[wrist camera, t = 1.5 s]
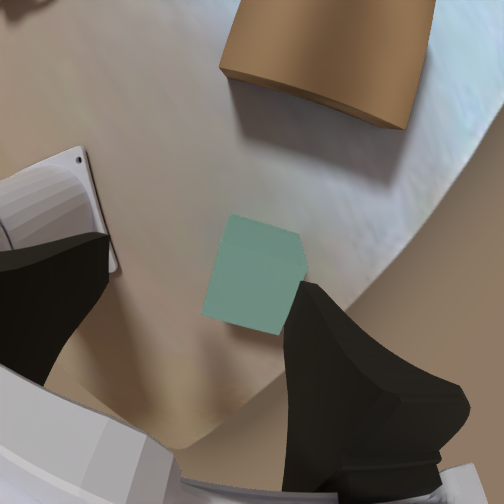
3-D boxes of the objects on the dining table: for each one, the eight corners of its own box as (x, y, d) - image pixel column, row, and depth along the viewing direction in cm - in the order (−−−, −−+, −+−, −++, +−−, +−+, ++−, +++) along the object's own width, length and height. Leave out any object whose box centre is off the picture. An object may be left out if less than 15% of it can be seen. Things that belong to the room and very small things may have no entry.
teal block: (298, 233, 20) (308, 267, 16) (276, 291, 22) (278, 335, 18) (230, 213, 20) (220, 241, 15) (213, 274, 22) (200, 314, 17)
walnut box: (411, 6, 14) (437, -12, 10) (379, 127, 18) (405, 129, 14) (270, -44, 13) (271, -74, 9) (227, 78, 17) (218, 67, 13)
